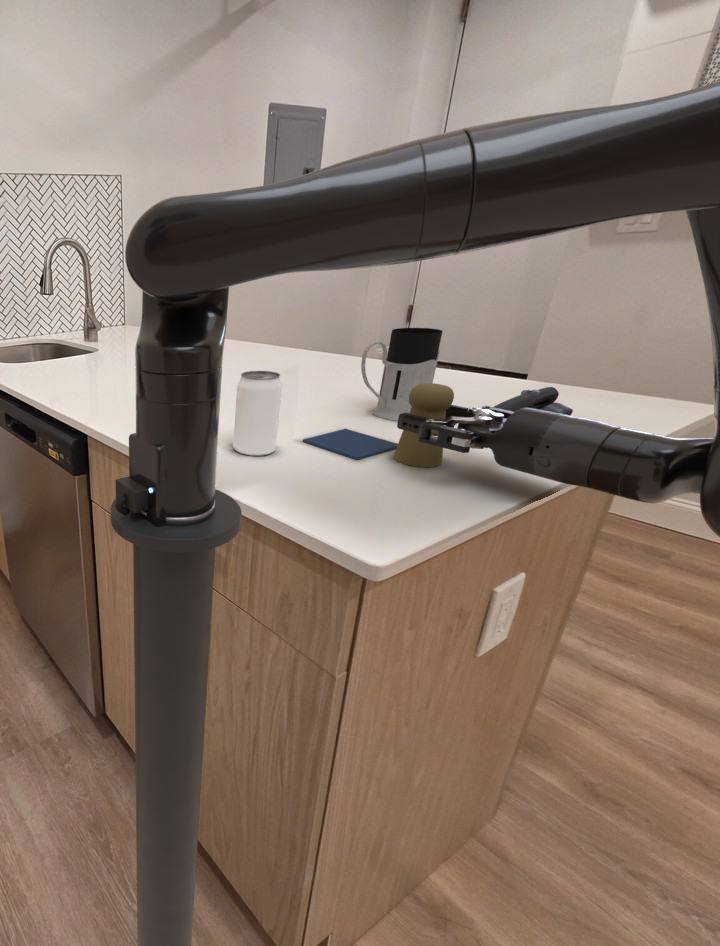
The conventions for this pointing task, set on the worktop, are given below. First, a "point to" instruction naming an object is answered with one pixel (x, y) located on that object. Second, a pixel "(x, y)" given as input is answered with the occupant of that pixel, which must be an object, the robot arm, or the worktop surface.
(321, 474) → the worktop surface
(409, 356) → the glass holder
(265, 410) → the can
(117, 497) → the robot arm
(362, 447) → the mat
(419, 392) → the cork
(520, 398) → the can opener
